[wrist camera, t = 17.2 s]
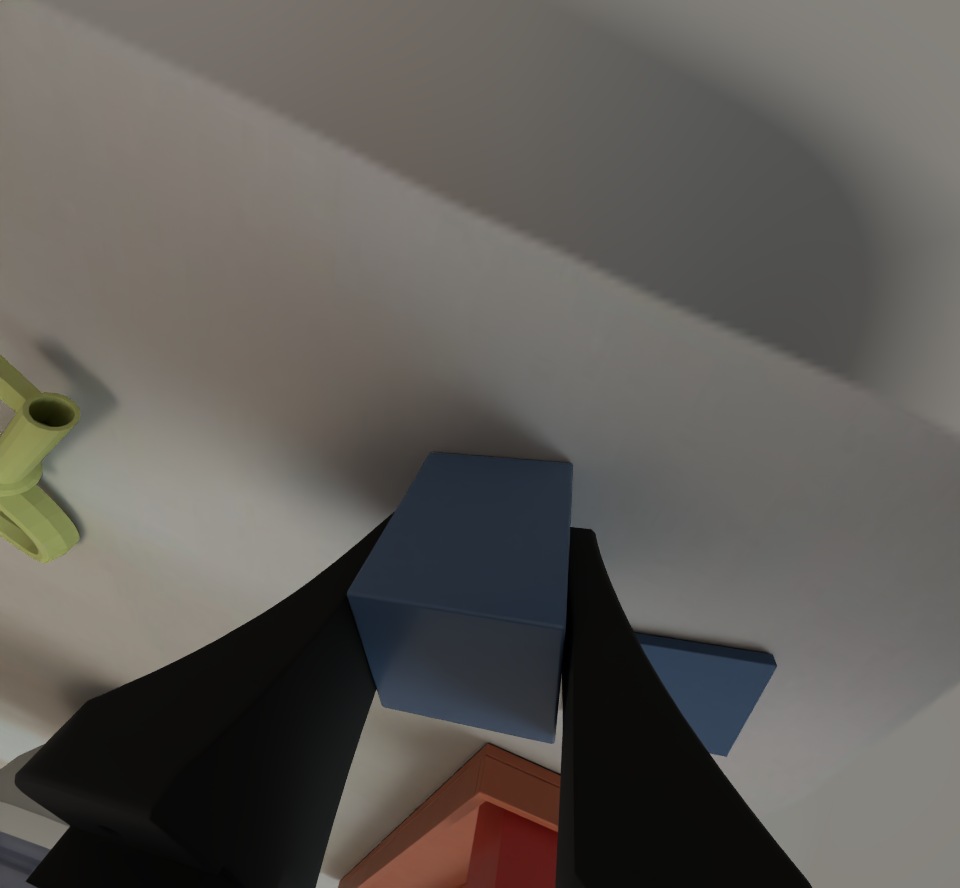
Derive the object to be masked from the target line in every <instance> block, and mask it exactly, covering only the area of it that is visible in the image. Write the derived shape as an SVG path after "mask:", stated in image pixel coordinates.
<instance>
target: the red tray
mask: <svg viewBox="0 0 960 888" xmlns="http://www.w3.org/2000/svg"><path fill="white" fill-rule="evenodd" d="M560 779H561V776H560V775H558V774H556V773H554V772H551V771H549V770H547V769H545V768H542V767H540V766H538V765H536V764H533V763H531V762H529V761H526V760H524V759H522V758H520V757H517V756H515V755H513V754H511V753H508V752H506V751H504V750H502V749H499V748H497V747H495V746H493V745H490V744H487V745H486V746H485V747H483V748H482V749H481V750H480V751H479V752H478V753H477V754H476V755H475V756H474V757H473V758H472V759H471V760H470V761H468V762H467V763H466V764H465V765H464V766H463V767H462V768H461V769H460V770H459V771H458V772H457V773H456V774H455V775H453V776H452V777H451V778H450V779H449V780H448V781H447V782H446V783H445V784H444V785H443V786H442V787H441V788H440V789H438V790H437V791H436V792H435V793H434V794H433V795H432V796H431V797H430V798H429V799H428V800H427V801H426V802H424V803H423V804H422V805H421V806H420V807H419V808H418V809H417V810H416V811H415V812H414V813H413V814H412V815H411V816H409V817H408V818H407V819H406V820H405V821H404V822H403V823H402V824H401V825H400V826H399V827H398V828H397V829H396V830H394V831H393V832H392V833H391V834H390V835H389V836H388V837H387V838H386V839H385V840H384V841H383V842H382V843H381V844H379V845H378V846H377V847H376V848H375V849H374V850H373V851H372V852H371V853H370V854H369V855H368V856H367V857H366V858H364V859H363V860H362V861H361V862H360V863H359V864H358V865H357V866H356V867H355V868H354V869H353V870H352V871H351V872H349V873H348V874H347V875H346V876H345V877H344V878H343V879H342V880H341V881H340V883H339V886H338V888H465V886H466V880H467V874H468V868H469V862H470V857H471V851H472V845H473V839H474V833H475V828H476V822H477V816H478V810H479V806H480V805H481V804H482V803H484V802H485V801H488V802H490V803H492V804H495V805H497V806H499V807H502V808H504V809H506V810H508V811H511V812H513V813H515V814H517V815H520V816H522V817H524V818H527V819H529V820H531V821H533V822H536V823H538V824H540V825H543V826H545V827H547V828H549V829H552V830H554V831H556V832H558V820H559V800H560Z"/></svg>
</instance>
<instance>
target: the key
mask: <svg viewBox="0 0 960 888" xmlns="http://www.w3.org/2000/svg"><path fill="white" fill-rule="evenodd" d="M0 399H1V400H2V401H4V402H5V403H6V404H7V405H8V406H9V407H10V408H11V409H13V410H14V411H15V412H16V415H15V416H14V418H13V419H12V421H11V422H10V424H9V425H8V427H7V428H6V429H5V431H4V432H3V434H2V435H1V437H0V536H1V537H2V538H4V539H5V540H7V541H8V542H9V543H11V544H12V545H13V546H15V547H16V548H18V549H19V550H21V551H22V552H24V553H25V554H27V555H28V556H30V557H31V558H33V559H35V560H37V561H39V562H42V563H48V562H50V561H52V560H54V559H56V558H58V557H60V556H62V555H64V554H65V553H66V552H67V551H69V550H70V549H71V548H72V547H73V546H74V545H75V544H76V543H77V542H78V541H79V533H78V531H77V529H76V527H75V526H74V524H73V523H72V521H71V520H70V519H69V518H68V517H67V515H66V514H65V513H64V512H63V511H62V509H61V508H60V507H59V506H58V505H57V504H56V503H55V502H54V501H53V500H52V499H51V498H50V497H49V496H48V495H47V494H46V493H45V492H44V491H42V490H41V489H40V488H39V487H38V486H37V485H36V484H37V483H38V482H39V480H40V478H41V476H42V474H43V473H42V464H41V461H42V460H43V459H44V458H45V457H46V455H47V454H48V453H49V452H50V451H51V450H52V449H53V448H54V447H55V446H56V445H57V444H58V443H59V442H60V441H61V440H62V439H63V438H64V436H65V435H66V434H67V433H68V432H69V431H70V430H71V429H72V428H73V427H74V426H75V425H76V424H77V423H78V420H79V418H80V409H79V407H78V406H77V405H76V403H75V402H74V401H72V400H71V399H69V398H68V397H67V396H64V395H61V394H58V393H48V392H44V393H41V392H40V391H39V390H38V389H37V388H36V387H35V386H34V385H32V384H31V383H30V382H29V381H28V380H27V379H26V378H25V377H24V376H23V375H22V374H21V373H20V372H19V371H17V370H16V369H15V368H14V367H13V366H12V365H11V364H10V363H9V362H8V361H7V360H6V359H5V358H4V357H2V356H1V355H0Z"/></svg>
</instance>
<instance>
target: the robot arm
mask: <svg viewBox="0 0 960 888" xmlns="http://www.w3.org/2000/svg"><path fill="white" fill-rule="evenodd" d="M394 513H395V512H393V513H392V514H391V515H390V516H389V517H388V518H386V519H385V520H384V521H383V522H382V523H381V524H379V525H378V526H377V527H376V528H375V529H374V530H373V531H371V532H370V533H369V534H368V535H367V536H366V537H364V538H363V539H362V540H361V541H360V542H359V543H357V544H356V545H355V546H354V547H353V548H351V549H350V550H349V551H348V552H347V553H345V554H344V555H343V556H342V557H341V558H339V559H338V560H337V561H336V562H334V563H333V564H332V565H331V566H329V567H328V568H327V569H325V570H324V571H323V572H321V573H320V574H319V575H318V576H316V577H315V578H314V579H312V580H311V581H310V582H308V583H307V584H306V585H304V586H303V587H301V588H300V589H299V590H297V591H296V592H294V593H293V594H291V595H290V596H289V597H287V598H286V599H284V600H282V601H281V602H279V603H278V604H276V605H275V606H273V607H272V608H270V609H269V610H267V611H266V612H264V613H262V614H261V615H259V616H257V617H256V618H254V619H252V620H251V621H249V622H247V623H245V624H244V625H242V626H240V627H239V628H237V629H235V630H233V631H232V632H230V633H228V634H227V635H225V636H223V637H221V638H220V639H218V640H216V641H214V642H212V643H210V644H208V645H207V646H205V647H203V648H201V649H199V650H197V651H195V652H193V653H191V654H189V655H187V656H185V657H183V658H181V659H179V660H177V661H175V662H173V663H171V664H169V665H167V666H165V667H163V668H161V669H159V670H157V671H154V672H152V673H150V674H148V675H146V676H143V677H141V678H139V679H137V680H134V681H132V682H130V683H128V684H125V685H123V686H121V687H119V688H116V689H114V690H112V691H109V692H107V693H105V694H103V695H100V696H98V697H96V698H93V699H91V700H88V701H87V702H86V703H85V704H84V705H83V706H82V707H81V708H80V709H79V710H78V711H77V712H76V713H75V714H74V715H73V716H72V717H71V718H70V719H69V720H68V721H67V722H66V723H65V724H64V725H63V726H62V727H61V728H60V729H59V730H58V731H57V732H56V733H55V734H54V735H53V736H52V737H51V738H50V739H49V740H48V741H47V743H46V744H45V745H44V746H43V747H42V748H41V749H40V750H39V751H38V752H37V753H36V754H35V755H34V756H33V757H32V758H31V759H30V760H29V761H28V762H27V763H26V764H25V765H24V766H23V767H22V768H21V769H20V770H19V771H18V772H17V773H16V774H15V781H14V782H15V786H16V787H17V788H18V789H19V790H20V791H21V792H22V793H24V794H25V795H26V796H28V797H29V798H30V799H32V800H33V801H35V802H36V803H38V804H39V805H41V806H42V807H43V808H45V809H46V810H48V811H49V812H51V813H52V814H54V815H55V816H57V817H58V818H60V819H61V820H63V821H64V822H66V823H67V824H68V825H70V827H69V828H68V829H67V831H66V832H65V833H64V834H63V835H62V837H61V838H60V839H59V840H58V842H57V843H56V844H55V845H54V847H53V848H52V849H48V848H45V847H43V846H40V845H37V844H34V843H32V842H29V841H26V840H23V839H20V838H18V837H15V836H12V835H9V834H7V833H4V832H1V831H0V888H315V887H316V884H317V880H318V876H319V873H320V869H321V865H322V862H323V858H324V855H325V851H326V847H327V844H328V840H329V837H330V833H331V829H332V826H333V822H334V819H335V816H336V812H337V809H338V806H339V802H340V799H341V796H342V792H343V789H344V786H345V782H346V779H347V776H348V773H349V769H350V766H351V763H352V760H353V757H354V754H355V751H356V748H357V745H358V742H359V739H360V735H361V732H362V729H363V726H364V724H365V721H366V718H367V715H368V712H369V709H370V706H371V703H372V700H373V697H374V694H375V692H376V689H377V688H376V685H375V682H374V679H373V676H372V673H371V669H370V666H369V663H368V660H367V657H366V654H365V651H364V647H363V644H362V641H361V638H360V635H359V632H358V629H357V625H356V622H355V619H354V616H353V613H352V610H351V606H350V603H349V600H348V597H347V592H348V590H349V588H350V586H351V585H352V583H353V581H354V580H355V578H356V576H357V575H358V573H359V571H360V570H361V568H362V566H363V564H364V563H365V561H366V559H367V558H368V556H369V554H370V553H371V551H372V549H373V548H374V546H375V544H376V543H377V541H378V539H379V538H380V536H381V534H382V533H383V531H384V529H385V528H386V526H387V524H388V523H389V521H390V519H391V518H392V516H393V514H394ZM562 701H563V737H562V758H561V779H560V800H559V820H558V840H557V860H556V879H555V888H812V886H811V885H810V883H809V882H808V880H807V879H806V878H805V877H804V875H803V874H802V873H801V872H800V870H799V869H798V868H797V867H796V866H795V864H794V863H793V862H792V861H791V860H790V858H789V857H788V856H787V854H786V853H785V852H784V851H783V850H782V848H781V847H780V846H779V845H778V844H777V842H776V841H775V840H774V838H773V837H772V836H771V835H770V833H769V832H768V831H767V830H766V828H765V827H764V826H763V824H762V823H761V822H760V821H759V819H758V818H757V817H756V815H755V814H754V813H753V812H752V810H751V809H750V808H749V807H748V805H747V804H746V803H745V801H744V800H743V799H742V797H741V796H740V795H739V793H738V792H737V791H736V789H735V788H734V787H733V785H732V784H731V783H730V781H729V780H728V779H727V777H726V776H725V775H724V773H723V772H722V771H721V769H720V768H719V766H718V765H717V764H716V762H715V761H714V759H713V758H712V756H711V755H710V754H709V752H708V751H707V749H706V748H705V746H704V745H703V743H702V742H701V741H700V739H699V738H698V736H697V735H696V733H695V732H694V730H693V729H692V728H691V726H690V725H689V723H688V722H687V720H686V719H685V717H684V716H683V715H682V713H681V712H680V710H679V708H678V707H677V705H676V704H675V702H674V701H673V699H672V697H671V696H670V694H669V693H668V691H667V689H666V688H665V686H664V685H663V683H662V681H661V680H660V678H659V676H658V675H657V673H656V671H655V670H654V668H653V666H652V664H651V663H650V661H649V659H648V657H647V656H646V654H645V652H644V650H643V648H642V647H641V645H640V643H639V641H638V639H637V637H636V635H635V633H634V631H633V629H632V627H631V625H630V623H629V621H628V619H627V617H626V615H625V613H624V611H623V609H622V607H621V605H620V602H619V600H618V598H617V595H616V593H615V591H614V589H613V586H612V584H611V581H610V579H609V576H608V574H607V571H606V568H605V566H604V563H603V560H602V557H601V554H600V551H599V547H598V544H597V540H596V534H595V533H594V532H593V531H592V530H591V529H583V528H574V527H570V545H569V568H568V591H567V615H566V632H565V642H564V653H563V663H562Z"/></svg>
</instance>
